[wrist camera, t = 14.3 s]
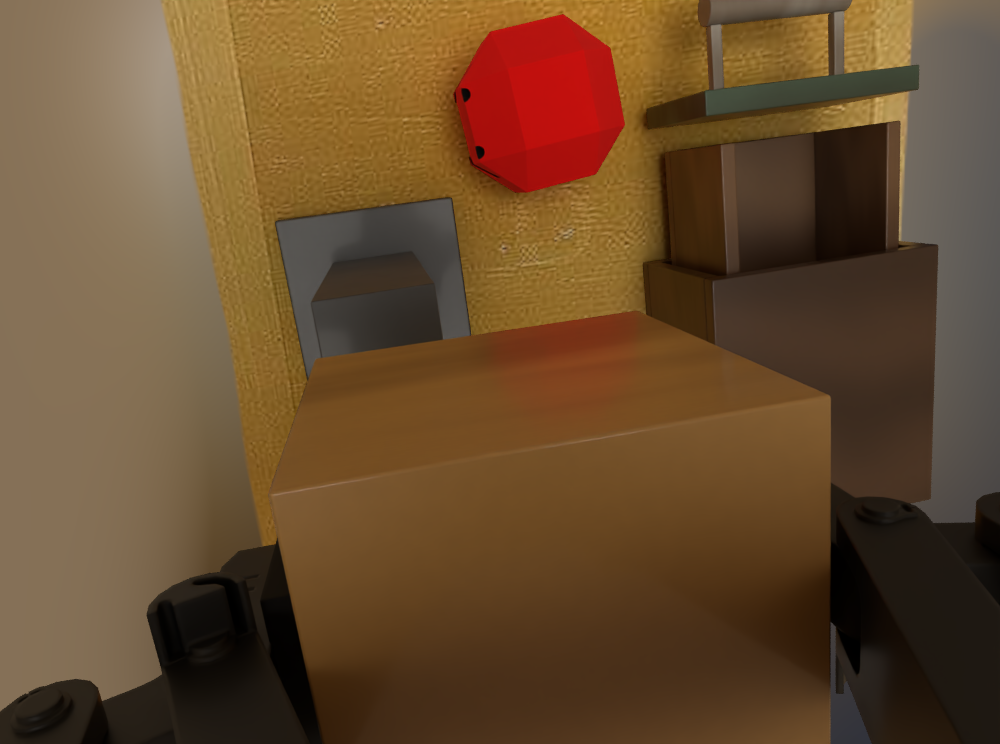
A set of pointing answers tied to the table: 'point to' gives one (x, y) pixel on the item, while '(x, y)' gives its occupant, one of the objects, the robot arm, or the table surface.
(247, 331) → the table surface
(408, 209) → the stand
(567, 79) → the red faceted polyhedron
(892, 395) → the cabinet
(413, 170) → the table surface
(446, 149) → the table surface
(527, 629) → the oak block
